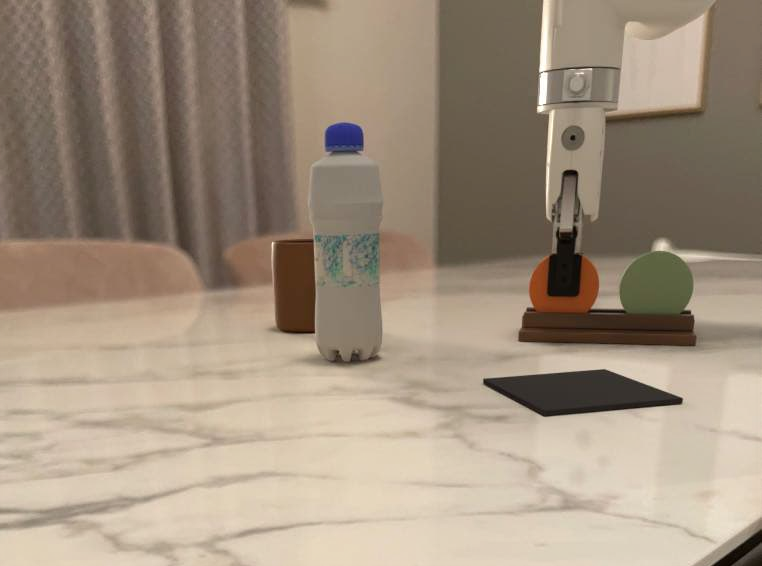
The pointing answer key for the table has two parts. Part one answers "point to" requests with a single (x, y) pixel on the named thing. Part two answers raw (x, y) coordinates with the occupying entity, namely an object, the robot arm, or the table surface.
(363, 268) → the bottle
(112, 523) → the table surface
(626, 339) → the disc rack
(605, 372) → the mat
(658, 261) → the green disc
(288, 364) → the table surface
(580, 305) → the orange disc
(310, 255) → the mug
